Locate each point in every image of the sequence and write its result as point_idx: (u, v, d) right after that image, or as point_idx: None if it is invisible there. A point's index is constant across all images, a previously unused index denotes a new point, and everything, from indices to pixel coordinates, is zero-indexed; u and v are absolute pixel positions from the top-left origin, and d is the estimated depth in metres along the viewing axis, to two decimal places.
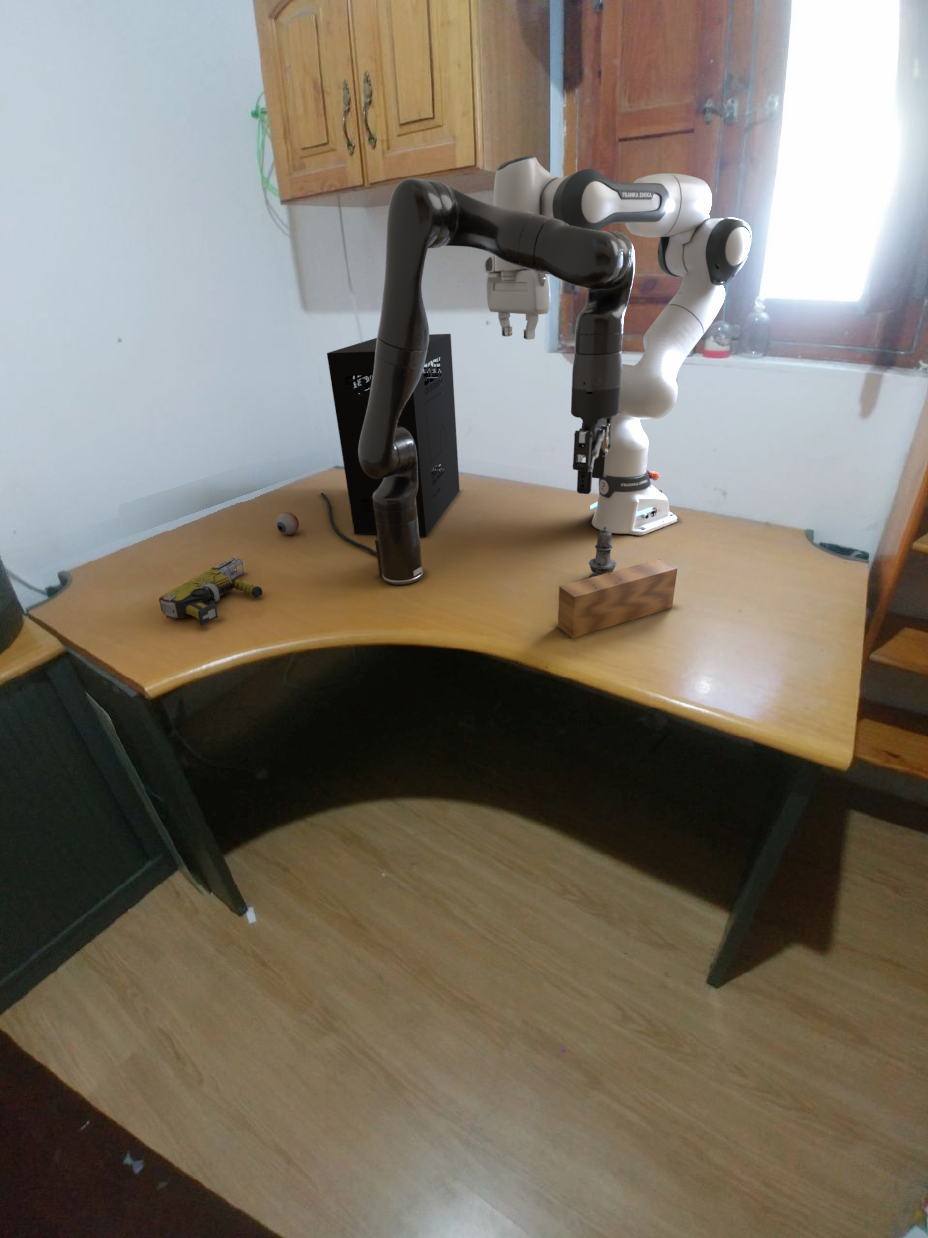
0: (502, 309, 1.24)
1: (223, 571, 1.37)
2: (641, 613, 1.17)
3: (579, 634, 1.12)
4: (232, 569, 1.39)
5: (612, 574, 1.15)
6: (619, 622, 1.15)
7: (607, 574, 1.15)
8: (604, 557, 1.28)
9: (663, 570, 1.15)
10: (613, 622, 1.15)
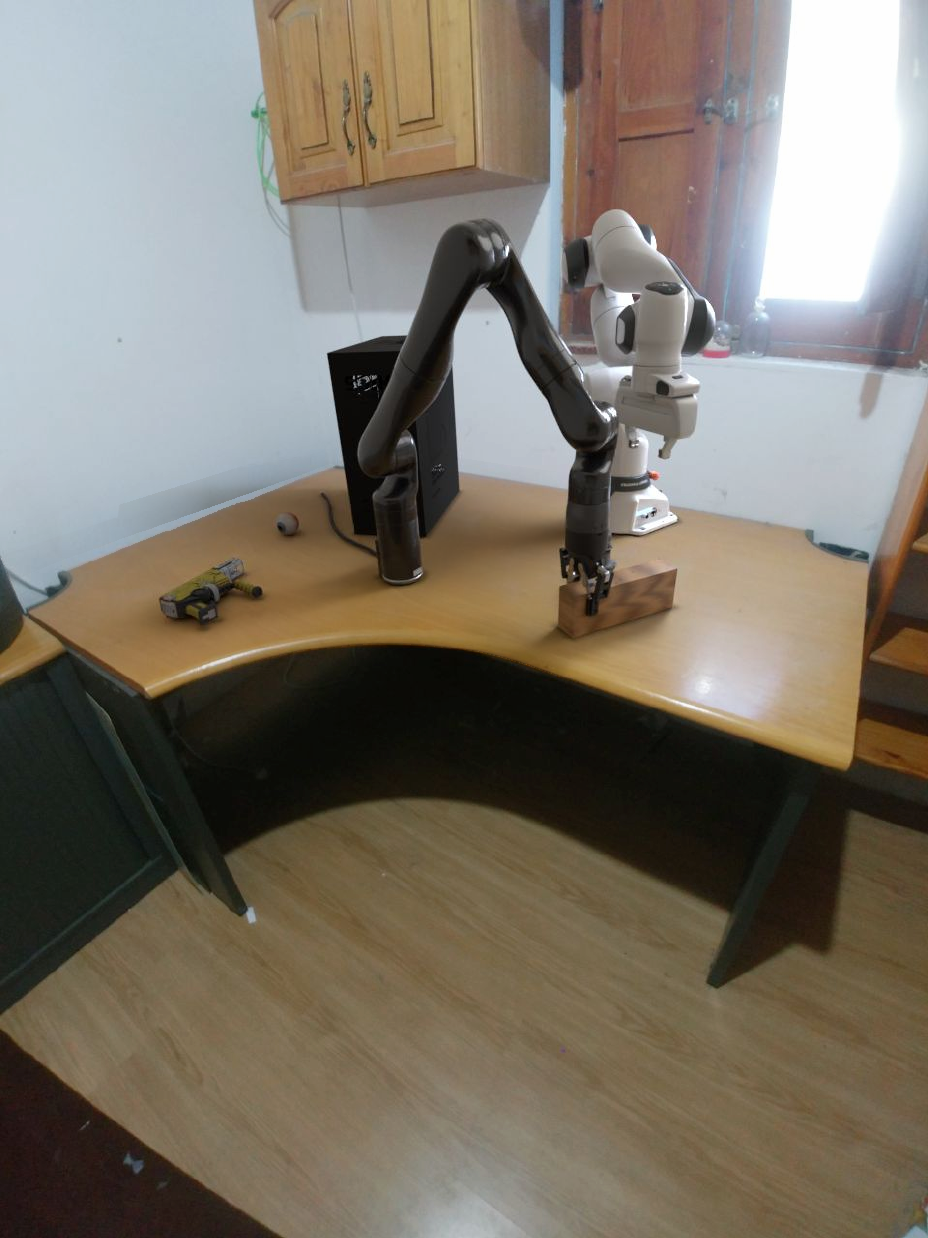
0: None
1: (223, 571, 1.37)
2: (641, 613, 1.17)
3: (579, 634, 1.12)
4: (232, 569, 1.39)
5: None
6: (619, 622, 1.15)
7: None
8: (604, 557, 1.28)
9: (663, 570, 1.15)
10: (613, 622, 1.15)
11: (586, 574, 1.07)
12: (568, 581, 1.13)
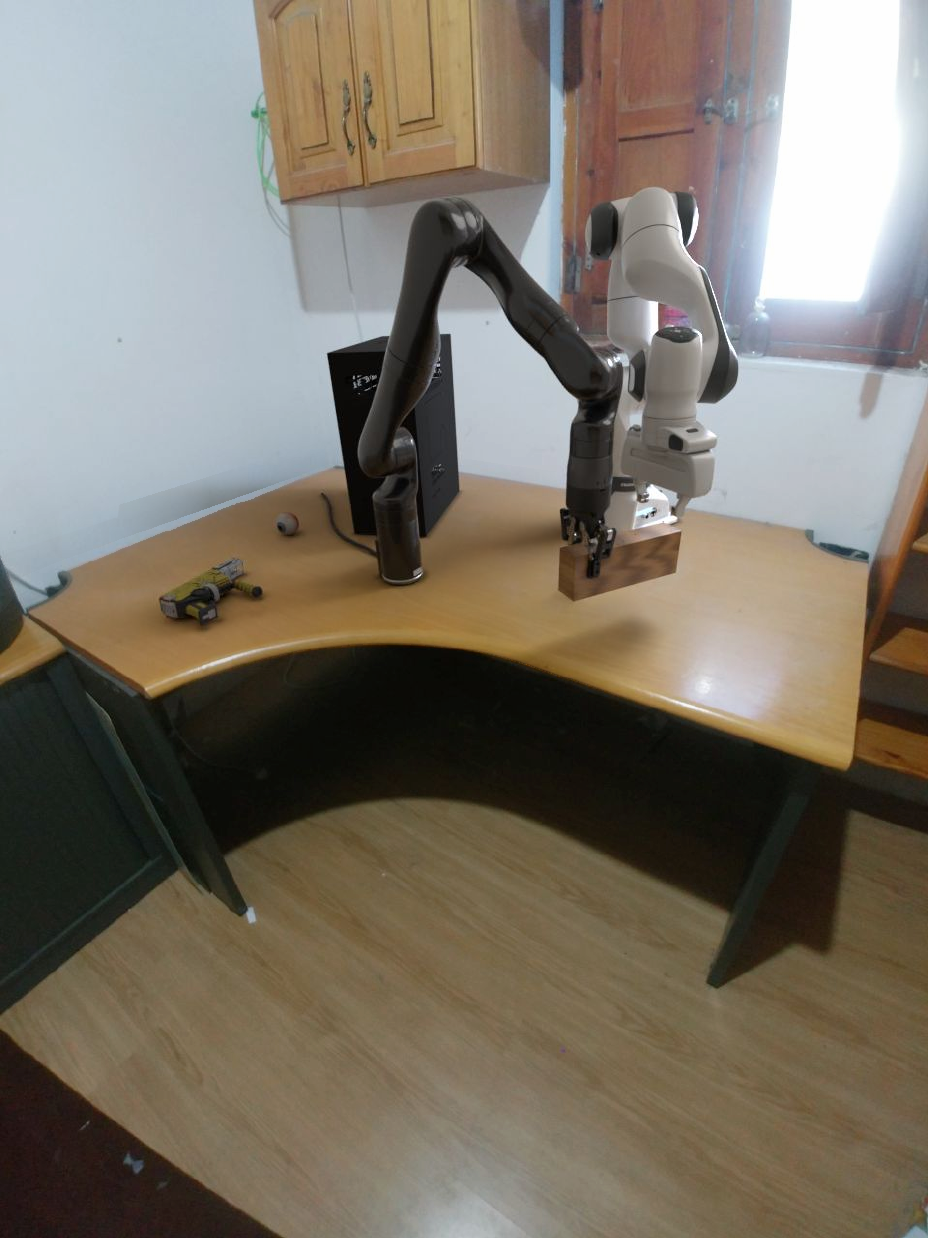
0: None
1: (223, 571, 1.37)
2: (644, 577, 1.13)
3: (580, 597, 1.08)
4: (232, 569, 1.39)
5: None
6: (621, 586, 1.12)
7: None
8: None
9: (667, 533, 1.11)
10: (615, 586, 1.11)
11: (588, 533, 1.03)
12: (569, 543, 1.09)
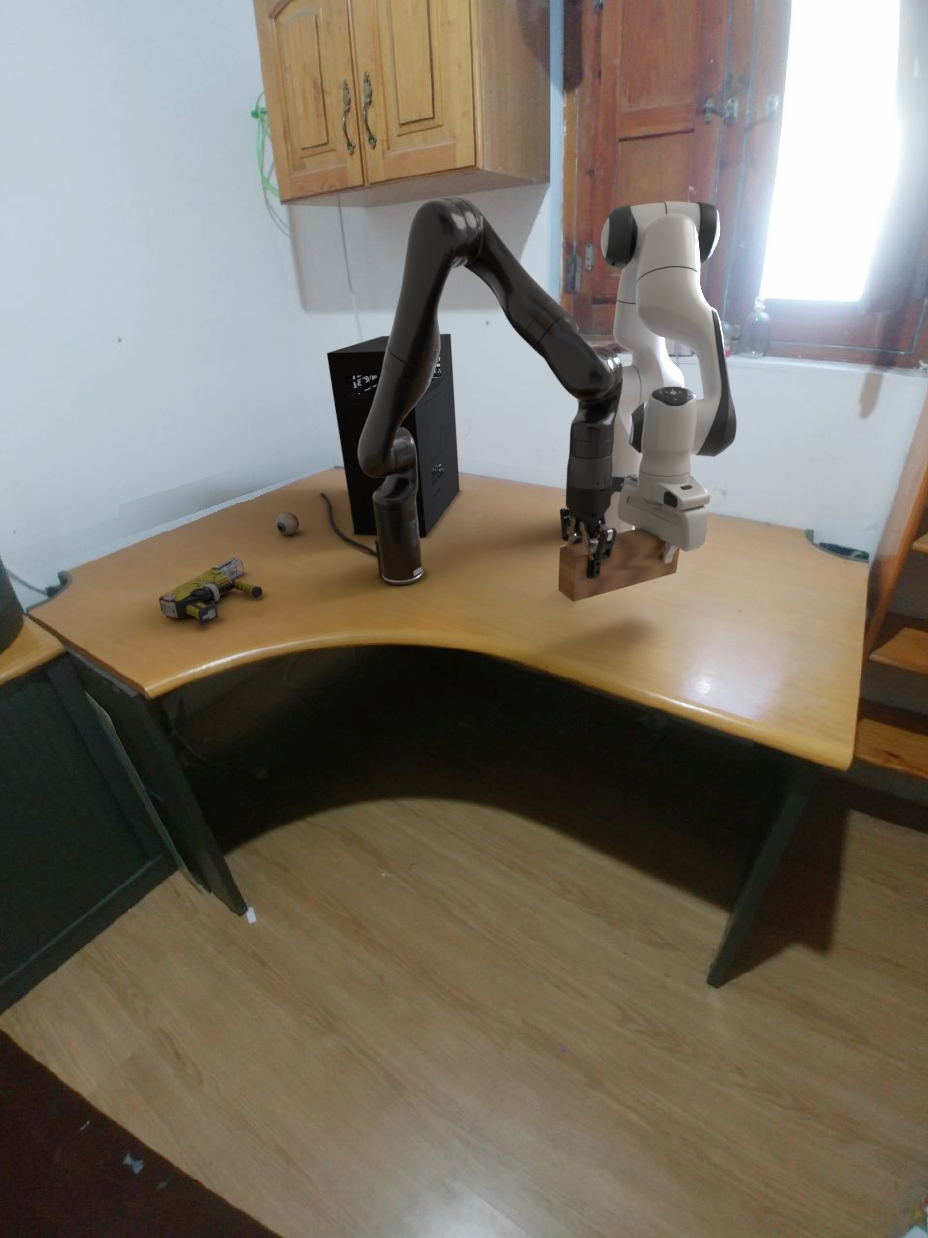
0: None
1: (223, 571, 1.37)
2: (644, 577, 1.13)
3: (580, 598, 1.08)
4: (232, 569, 1.39)
5: None
6: (621, 586, 1.12)
7: None
8: None
9: None
10: (615, 586, 1.11)
11: (588, 533, 1.03)
12: (569, 543, 1.09)
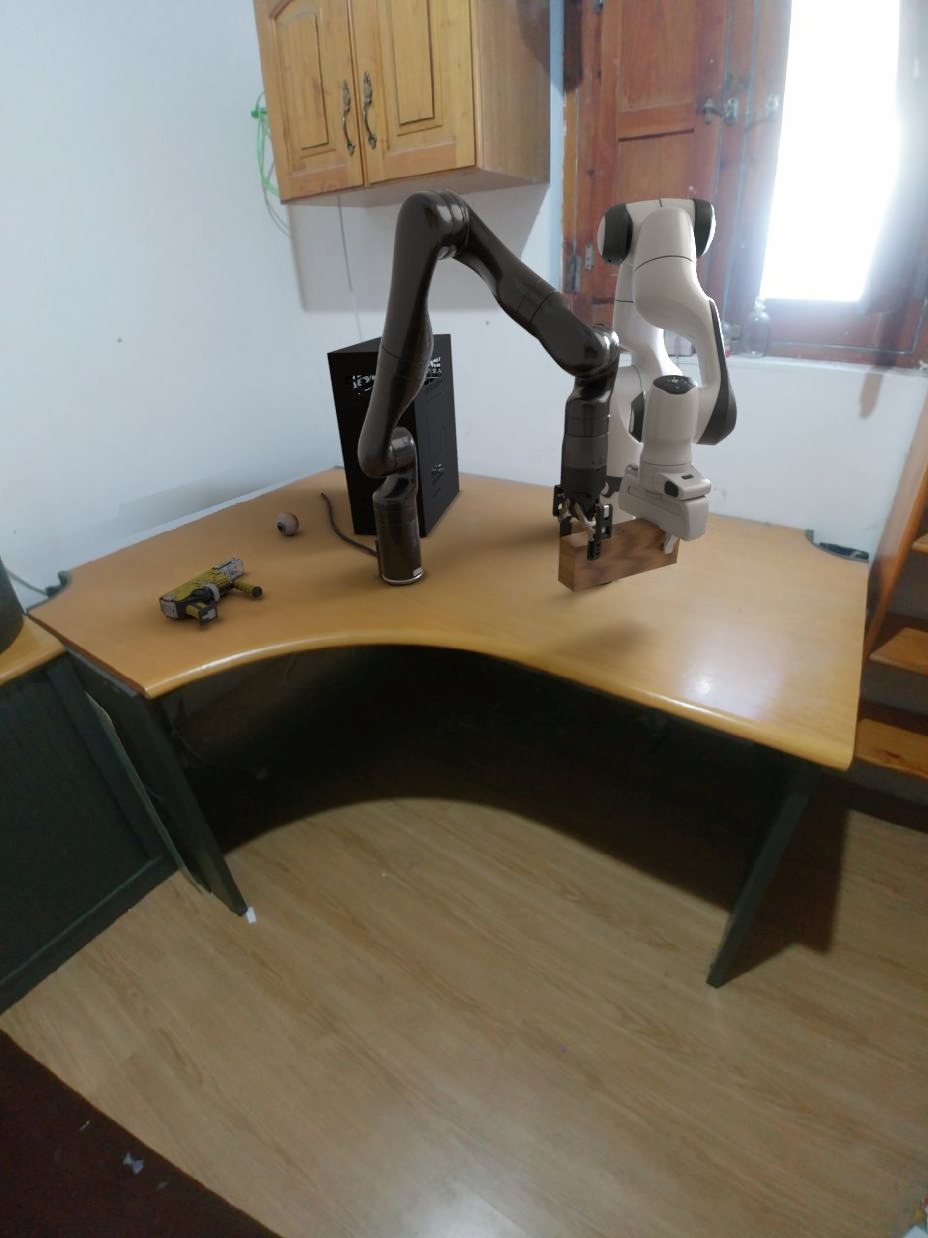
0: None
1: (223, 571, 1.37)
2: (644, 567, 1.12)
3: (580, 588, 1.08)
4: (232, 569, 1.39)
5: (615, 526, 1.10)
6: (621, 576, 1.11)
7: None
8: None
9: None
10: (615, 576, 1.10)
11: None
12: (559, 519, 1.08)
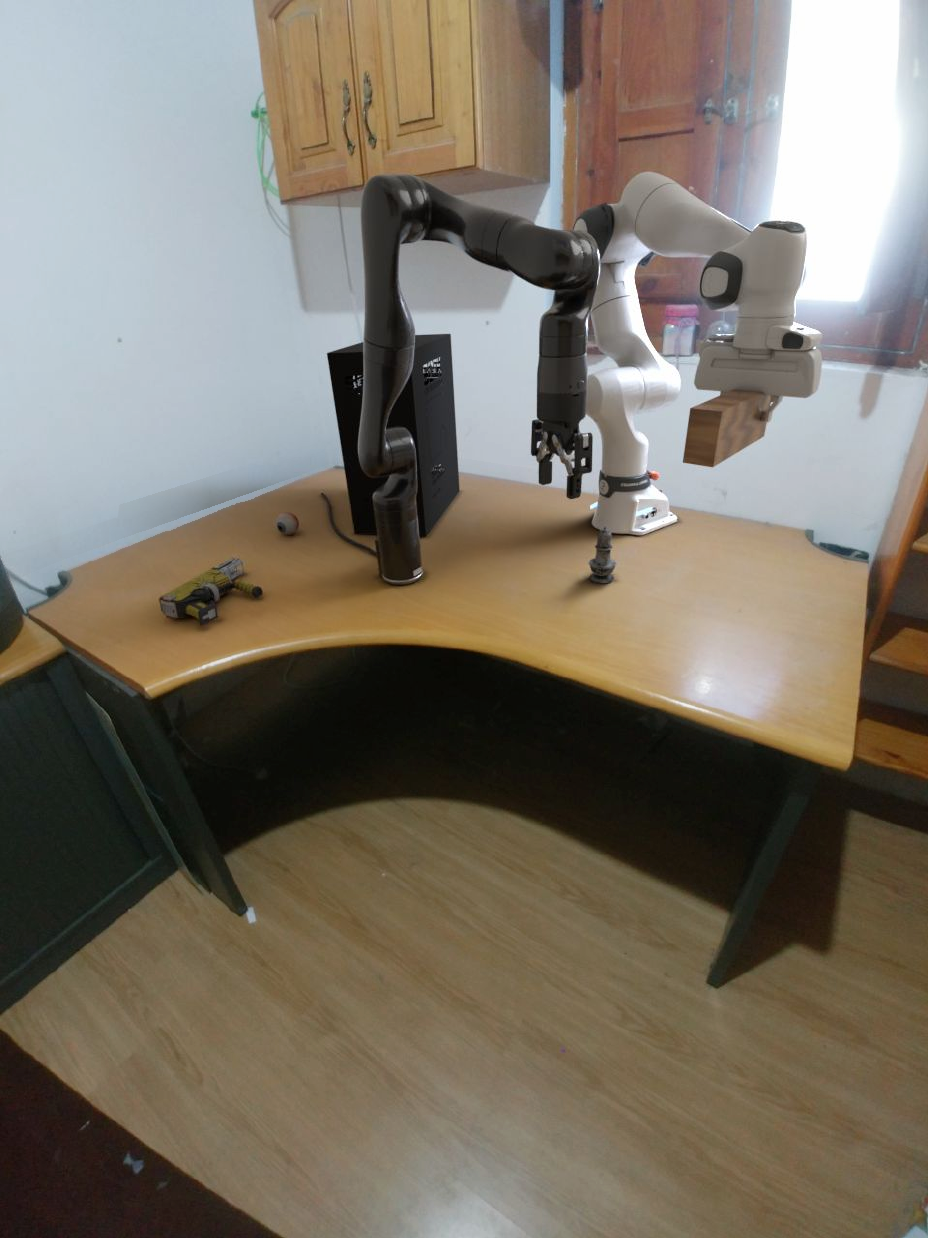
0: None
1: (223, 571, 1.37)
2: (749, 440, 1.06)
3: (717, 462, 0.97)
4: (232, 569, 1.39)
5: (724, 396, 1.02)
6: (738, 450, 1.03)
7: (720, 397, 1.01)
8: (604, 557, 1.28)
9: None
10: (735, 449, 1.02)
11: None
12: (538, 457, 1.00)
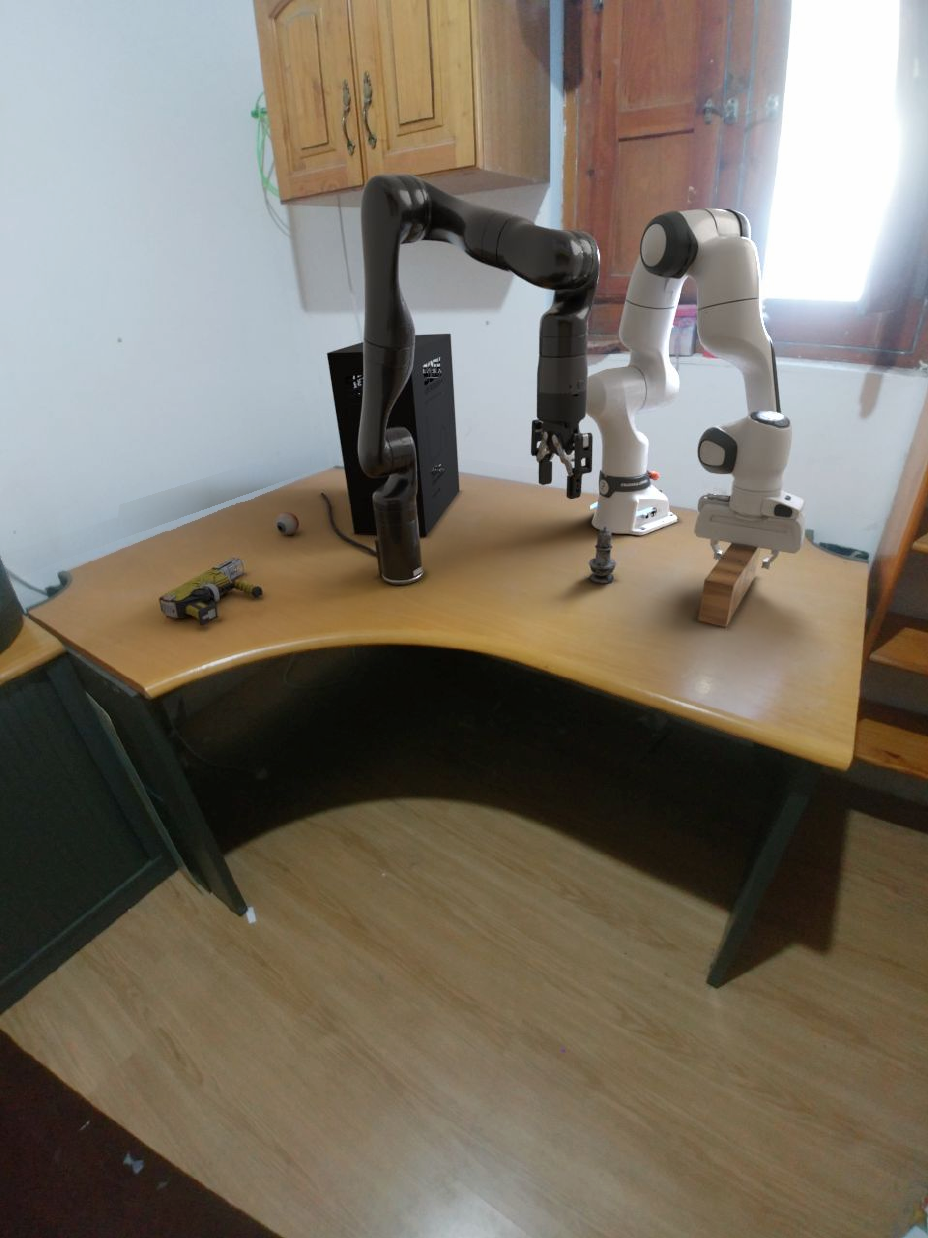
0: None
1: (223, 571, 1.37)
2: (746, 588, 1.23)
3: (728, 621, 1.13)
4: (232, 569, 1.39)
5: (726, 558, 1.18)
6: (739, 602, 1.20)
7: (723, 559, 1.18)
8: (604, 557, 1.28)
9: None
10: (738, 603, 1.19)
11: None
12: (538, 457, 1.00)
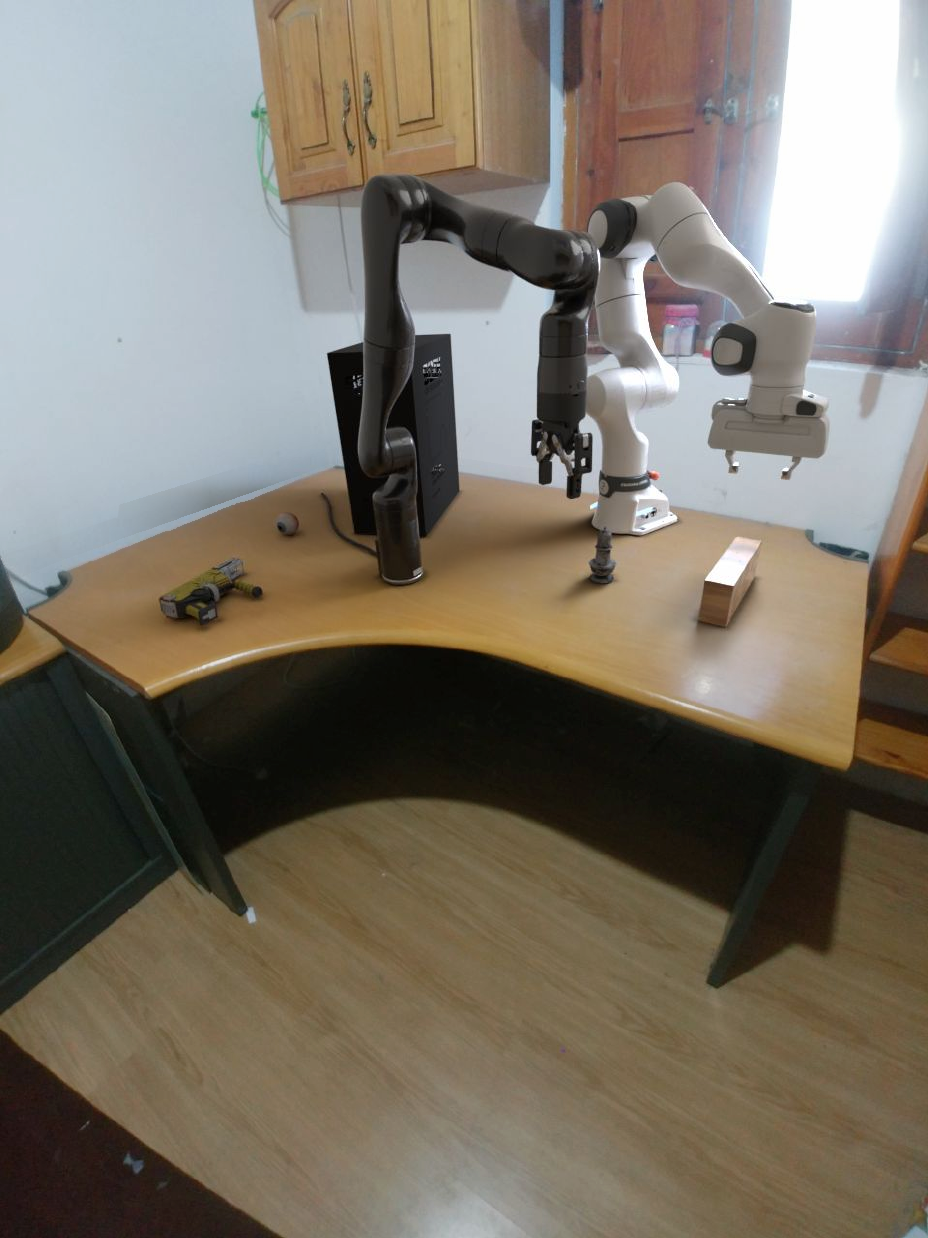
0: None
1: (223, 571, 1.37)
2: (746, 588, 1.23)
3: (728, 621, 1.13)
4: (232, 569, 1.39)
5: (726, 558, 1.18)
6: (739, 602, 1.20)
7: (723, 559, 1.18)
8: (604, 557, 1.28)
9: (756, 545, 1.23)
10: (738, 603, 1.19)
11: None
12: (538, 457, 1.00)
